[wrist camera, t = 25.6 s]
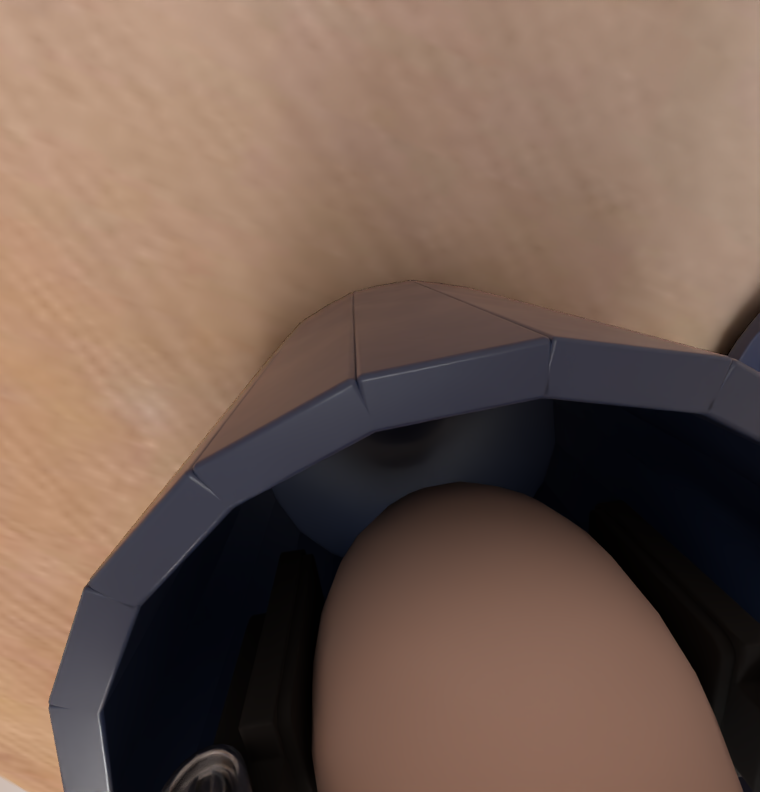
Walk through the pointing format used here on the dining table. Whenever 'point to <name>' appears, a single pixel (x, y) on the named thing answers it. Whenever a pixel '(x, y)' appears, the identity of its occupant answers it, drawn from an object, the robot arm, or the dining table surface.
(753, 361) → the lid
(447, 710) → the egg
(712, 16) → the dining table surface
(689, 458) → the pot
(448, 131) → the dining table surface
